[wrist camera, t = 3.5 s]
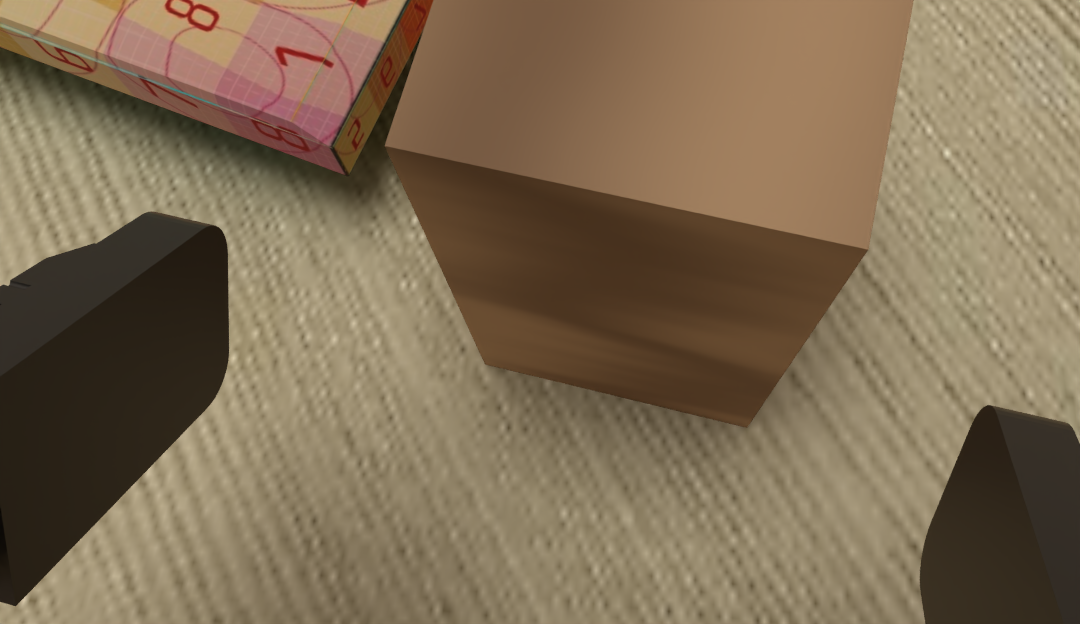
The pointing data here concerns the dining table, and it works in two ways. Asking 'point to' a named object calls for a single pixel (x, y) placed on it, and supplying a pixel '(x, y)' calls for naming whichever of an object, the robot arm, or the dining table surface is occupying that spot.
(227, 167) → the dining table surface
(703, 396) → the walnut block
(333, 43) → the puzzle game
